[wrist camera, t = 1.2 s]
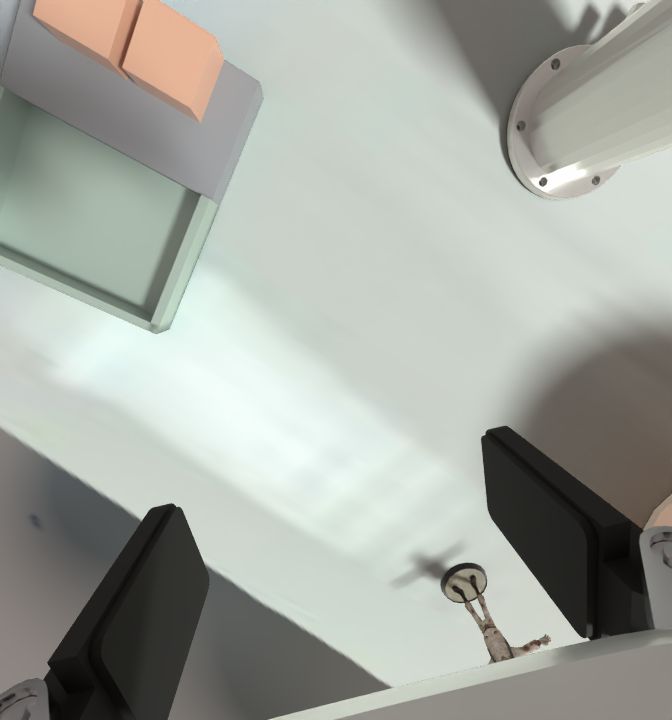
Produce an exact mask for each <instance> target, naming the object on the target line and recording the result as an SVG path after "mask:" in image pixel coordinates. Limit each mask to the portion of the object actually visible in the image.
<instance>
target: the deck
mask: <svg viewBox="0 0 672 720" xmlns="http://www.w3.org/2000/svg"><path fill="white" fill-rule="evenodd" d="M36 1H37V0H21V1H20V5H19V9H18V13H17V16H16V20H15V24H14V28H13V32H12V36H11V40H10V43H9V47H8V51H7V55H6V59H5V63H4V67H3V71H2V74H1V78H0V86H2V87H4V88H6V89H7V90H9V91H10V92H12V93H14V94H15V95H17V96H18V97H20V98H22V99H23V100H25V101H26V102H28V103H30V104H31V105H33V106H35V107H37V108H39V109H40V110H42V111H44V112H46V113H48V114H50V115H52V116H53V117H55V118H57V119H59V120H61V121H63V122H65V123H66V124H68V125H70V126H72V127H74V128H76V129H77V130H79V131H81V132H83V133H85V134H87V135H89V136H90V137H92V138H94V139H96V140H98V141H100V142H102V143H103V144H105V145H107V146H109V147H111V148H113V149H115V150H116V151H118V152H120V153H122V154H124V155H126V156H127V157H129V158H131V159H133V160H135V161H137V162H139V163H140V164H142V165H144V166H146V167H148V168H150V169H152V170H153V171H155V172H157V173H159V174H161V175H163V176H165V177H166V178H168V179H170V180H172V181H174V182H176V183H177V184H179V185H181V186H183V187H185V188H187V189H189V190H190V191H192V192H194V193H196V194H198V195H200V196H201V194H202V195H203V196H205V197H207V198H209V199H211V200H212V201H213V202H214V203H216V204H217V205H218V206H220V204H221V201H222V199H223V196H224V194H225V191H226V189H227V186H228V184H229V182H230V179H231V177H232V174H233V172H234V169H235V167H236V164H237V162H238V160H239V157H240V155H241V152H242V150H243V147H244V145H245V142H246V140H247V137H248V135H249V133H250V130H251V128H252V125H253V123H254V120H255V118H256V115H257V113H258V111H259V108H260V106H261V103H262V101H263V94H262V90H261V85H260V82H259V81H257V80H256V79H254V78H253V77H251V76H250V75H248V74H246V73H245V72H243V71H242V70H240V69H238V68H237V67H235V66H234V65H232V64H231V63H229V62H227V61H226V60H224V62H223V65H222V67H221V70H220V73H219V75H218V78H217V81H216V83H215V86H214V89H213V91H212V94H211V96H210V99H209V102H208V104H207V107H206V110H205V112H204V115H203V118H202V120H201V123H200V122H198V121H196V120H194V119H193V118H191V117H189V116H188V115H186V114H184V113H182V112H181V111H179V110H177V109H176V108H174V107H172V106H171V105H169V104H167V103H165V102H164V101H162V100H160V99H159V98H157V97H155V96H153V95H152V94H150V93H148V92H147V91H145V90H143V89H142V88H140V87H139V86H138V85H137V84H136V83H135V82H134V81H133V79H132V78H131V77H130V76H129V75H128V77H127V80H126V79H124V78H123V77H121V76H119V75H118V74H116V73H114V72H112V71H111V70H109V69H107V68H106V67H104V66H102V65H101V64H99V63H97V62H95V61H94V60H92V59H90V58H89V57H87V56H85V55H83V54H82V53H80V52H78V51H77V50H75V49H73V48H71V47H70V46H68V45H66V44H65V43H63V42H61V41H60V40H58V39H57V38H56V37H55V36H54V35H53V34H52V33H51V32H50V31H49V30H48V29H47V28H46V27H45V26H44V25H43V24H42V23H41V22H40V21H39V20H38V19H37V18H35V17H34V16H33V12H34V8H35V4H36Z"/></svg>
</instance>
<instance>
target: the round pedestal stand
mask: <svg viewBox="0 0 672 720" xmlns="http://www.w3.org/2000/svg"><path fill="white" fill-rule="evenodd" d="M654 526H671V527H672V494H671V495H670V496H669V497H667V498H666V499H665V500H664V501H663V502H662V503H661V504H660V505H659V506H658V507H657V508H656V509H655V510H654V511H653V513H652V515H651V517H650V518H649V520H648V522H647V524H646V525H645V527H644V529H643V530H646V529H649V528H651V527H654Z"/></svg>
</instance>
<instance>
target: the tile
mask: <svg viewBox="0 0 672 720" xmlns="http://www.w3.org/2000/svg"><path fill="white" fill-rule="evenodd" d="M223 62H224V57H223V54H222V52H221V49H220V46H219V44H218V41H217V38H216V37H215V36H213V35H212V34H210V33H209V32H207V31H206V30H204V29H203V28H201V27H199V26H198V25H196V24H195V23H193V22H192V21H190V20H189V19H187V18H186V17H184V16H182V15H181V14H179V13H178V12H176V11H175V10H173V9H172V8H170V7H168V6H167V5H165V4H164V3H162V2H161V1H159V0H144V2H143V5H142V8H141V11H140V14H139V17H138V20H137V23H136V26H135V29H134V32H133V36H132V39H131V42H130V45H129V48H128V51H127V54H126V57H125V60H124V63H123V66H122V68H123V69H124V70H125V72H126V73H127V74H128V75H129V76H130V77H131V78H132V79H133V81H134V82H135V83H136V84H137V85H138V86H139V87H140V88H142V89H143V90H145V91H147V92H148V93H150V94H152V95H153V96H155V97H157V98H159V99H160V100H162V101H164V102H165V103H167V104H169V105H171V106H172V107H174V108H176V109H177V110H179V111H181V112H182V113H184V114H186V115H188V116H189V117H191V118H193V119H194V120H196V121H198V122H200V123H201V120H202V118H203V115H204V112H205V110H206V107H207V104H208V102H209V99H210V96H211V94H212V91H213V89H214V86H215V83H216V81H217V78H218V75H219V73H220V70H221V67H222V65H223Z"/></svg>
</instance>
